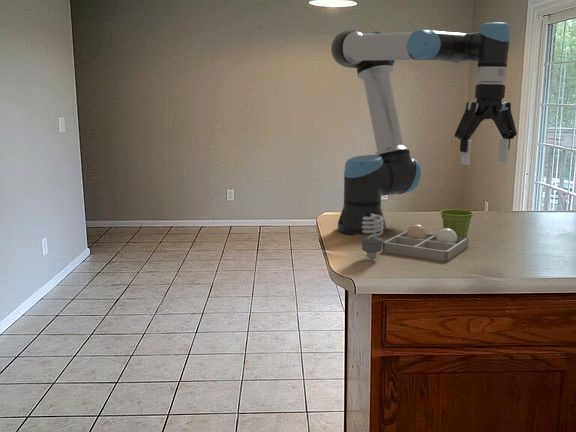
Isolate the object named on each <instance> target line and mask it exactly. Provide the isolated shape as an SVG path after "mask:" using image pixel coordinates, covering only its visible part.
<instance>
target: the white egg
mask: <svg viewBox="0 0 576 432" xmlns="http://www.w3.org/2000/svg"><path fill="white" fill-rule="evenodd" d="M436 234H437V236H436V241H437V242H444V243H451V244H456V242H457V235H456V233H455V232H454V231H453V230H452V229H449V228H444V227H443V228H442V229H440V230H439V231H437V233H436Z"/></svg>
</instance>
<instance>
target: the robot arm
mask: <svg viewBox="0 0 576 432" xmlns="http://www.w3.org/2000/svg"><path fill="white" fill-rule="evenodd" d="M510 34H511V26H510V24H508V23H507V22H502V21H501V22H500V21H499V22H496V21H495V22H485V23H481V25H480V29H479V31H477V32H469V33H468V32H467V33H466V32H453V31H440V30H432V29H417V30H415V31H400V32H385V33H384V32H379V31H365V30H353V29H348V30H343V31H341V32H340V33H338V34H337V35H336V36H335V37H334V39H333V40H332V43H331V46H330V52H331V56H332V58H333V60H334V61H335V62H336V63H337V64H338V65H340V66H342V67H344V68H350V69H356V72H357V78H359V79H360V80H362V81H363V85H364V88H365V89H364V90H365V95H366V98H367V105H368V109H369V115H370V120H371V125H372V130H373V136H374V141H375V146H376V147H375V148H376V152H375V154H365V155H363V154H362V155H357V156H353V157H350V158H348V159H347V160H346V161H345V164H344V171H343V188H344V189H343V205H342V206H343V207H342V210H341V213H340V216H339V219H338V222H337V231H338V232H339V233H342V234H346V235H352V236H354V235H371V234H372V233H363V232H362V230H375V229H363V228H362V226H363V225H365V224H362V222H363V221H373V220H363V217H371V214H376V215H379V216H382V217H383V223H384V224H383V227H384V229H383V233H384V232H386V230H387V229H386V228H387V225H386V224H387V223H386V219H385V218H384V213H383V209H382V196H389V195H391V196H392V195H402V194H406V193H410V192H413V191H414V190H415V189H416V188H417V187H418V184H419V183H420V180H421V177H422V169H421V165H420V163H419V161H418V160H417V159H416V158H414V157H413V156H411V151H410V148H408V147H406V146H405V145H404V143H403V137H402V131H401V127H400V121H399V116H398V115H399V114H398V110H397V105H396V101H395V95H394V91H393V86H392V82H391V81H392V80H391V76H390V75H391V73H392V72H393V70H394V67H393V66H394V65H395V63H396V61H444V62H448V63H460V62H462V63H463V62H464V63H465V62H477V67H476V69H477V70H476V80H475V81H476V83H477V84H476V85H475V91H474V92H475V93H474V98H475V99H476V101H475V102H474V101H467V102H466V104H465V110H464V113H463V115H462V117H461V119H460V122H459V124H458V126H457V127H456V128H457V129H456V130H455V133H454V137H455V138H457V139H458V140H460V145H459V151H460V152H461V153H460V165H466V166H470V165H471V156H472V155H471V154H472V153H471V152H472V139H471V137H472V136H473V134H474V133H475V132H476V130H477V129H478V128H479V126H480V124H481V123H482V122H484V120H492V121H493V122H494V125H495V127H496V128H497V130H498V132H499V133H500V135H501V137H500V138H499V142H498V153H497V162H498V163H504V164H505V163H506V164H507V163H508V153H509V150H510V146H511V145H510V144H511V140H513V139H515V137H516V136H517V135H518V133H517V132H518V131H517V129H516V125H515V121H514V117H513V114H512V106H511V105H512V103H511V102H510V101H502V100H503V99H504V98H505V97H506V96H505V94H506V93H505V92H506V86H505V84H504V83H506V81H507V73H508V72H507V71H508V68H507V67H508V59H509V58H508V56H509V51H510V50H509V49H510V42H511V35H510ZM375 218H376V217H375ZM377 219H380V218H377ZM379 224H381V223H379ZM369 226H374V225H372V224H370V225H369ZM379 228H381V227H379ZM377 233H380V232H376V234H377Z"/></svg>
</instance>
